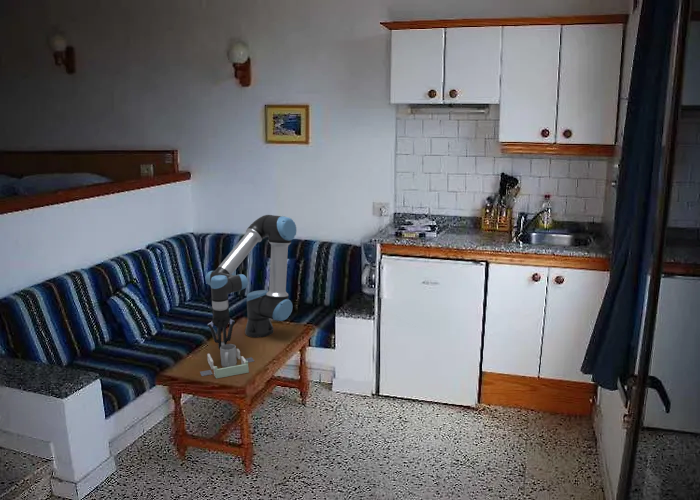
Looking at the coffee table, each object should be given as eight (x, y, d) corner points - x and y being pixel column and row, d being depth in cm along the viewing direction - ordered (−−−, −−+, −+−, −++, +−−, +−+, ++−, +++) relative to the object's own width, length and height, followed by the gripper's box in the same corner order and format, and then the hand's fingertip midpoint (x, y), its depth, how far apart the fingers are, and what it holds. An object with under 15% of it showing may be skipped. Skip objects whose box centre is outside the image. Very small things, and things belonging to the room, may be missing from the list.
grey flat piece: (249, 354, 291) (249, 344, 290) (260, 370, 273) (259, 359, 272) (196, 363, 281) (195, 353, 280) (203, 380, 263) (202, 370, 262)
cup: (237, 361, 283) (236, 343, 281) (234, 370, 274) (233, 352, 271) (222, 361, 283) (221, 344, 281) (218, 370, 273) (217, 352, 271)
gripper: (232, 304, 283) (235, 350, 289) (205, 307, 278) (208, 354, 284) (235, 308, 277) (238, 355, 282) (207, 312, 272) (210, 360, 277)
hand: (223, 355), depth 283 cm, fingers closed
